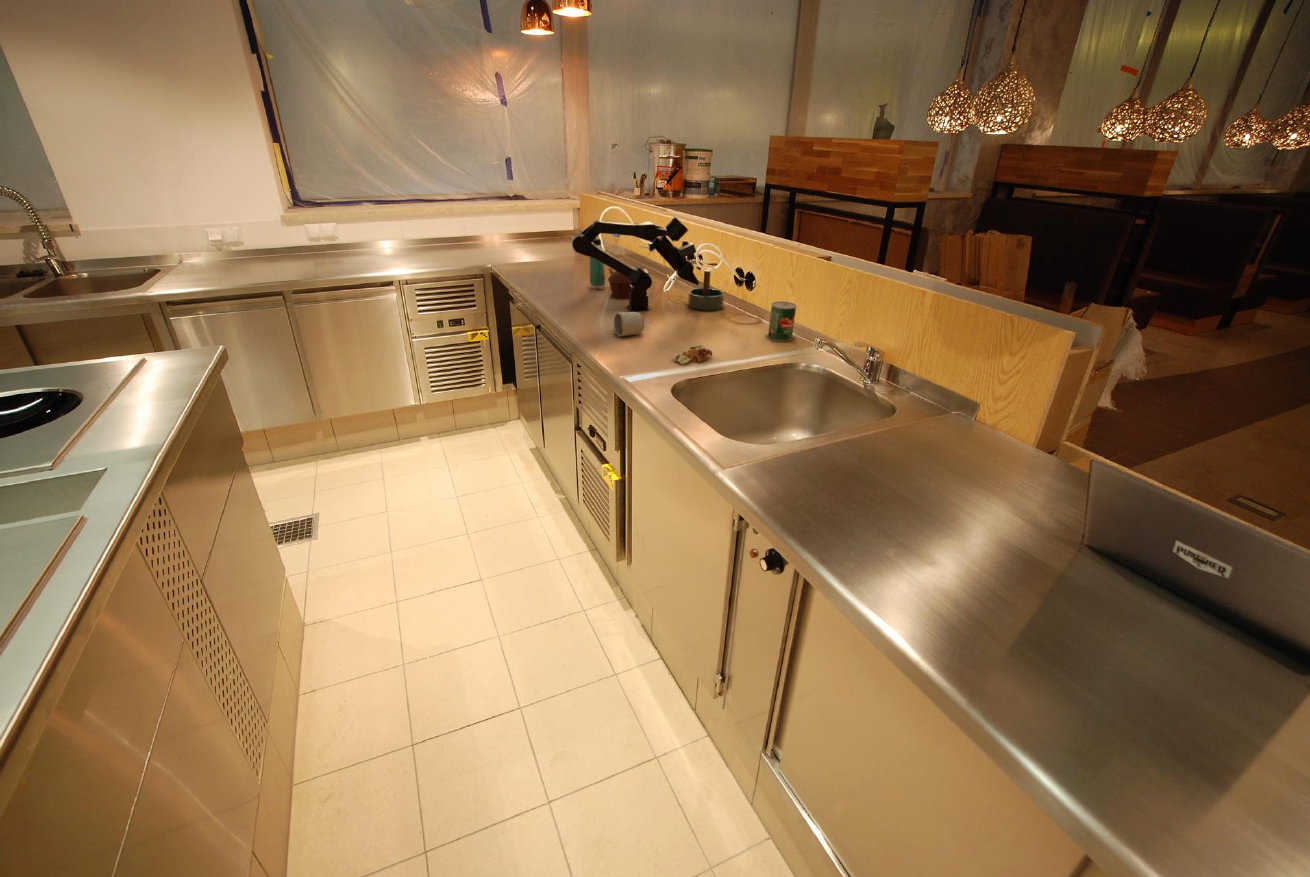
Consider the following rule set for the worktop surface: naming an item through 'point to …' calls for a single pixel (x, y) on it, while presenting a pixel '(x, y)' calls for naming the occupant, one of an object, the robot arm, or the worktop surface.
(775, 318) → the canned tomato
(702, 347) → the pastry
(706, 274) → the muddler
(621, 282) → the muffin
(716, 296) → the bowl
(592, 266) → the beverage bottle
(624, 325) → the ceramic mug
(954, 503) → the worktop surface
